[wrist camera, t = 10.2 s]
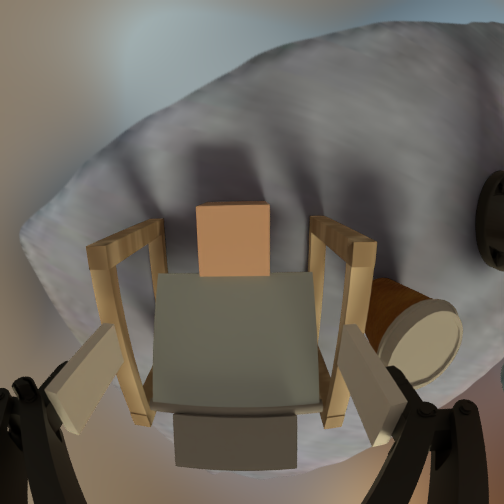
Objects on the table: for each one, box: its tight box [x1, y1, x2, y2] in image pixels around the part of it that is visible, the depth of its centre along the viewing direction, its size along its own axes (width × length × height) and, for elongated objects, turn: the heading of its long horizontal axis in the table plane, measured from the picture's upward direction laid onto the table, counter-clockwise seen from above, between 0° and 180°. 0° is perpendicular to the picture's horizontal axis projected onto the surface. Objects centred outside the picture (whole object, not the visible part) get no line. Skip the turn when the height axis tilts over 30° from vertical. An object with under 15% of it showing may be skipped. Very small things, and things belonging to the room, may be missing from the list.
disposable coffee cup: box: [365, 278, 463, 389], centre depth 25 cm, size 10×10×12 cm
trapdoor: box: [149, 272, 323, 471], centre depth 22 cm, size 15×18×2 cm
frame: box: [86, 216, 377, 429], centre depth 24 cm, size 19×17×13 cm
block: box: [196, 201, 270, 277], centre depth 26 cm, size 6×6×6 cm
